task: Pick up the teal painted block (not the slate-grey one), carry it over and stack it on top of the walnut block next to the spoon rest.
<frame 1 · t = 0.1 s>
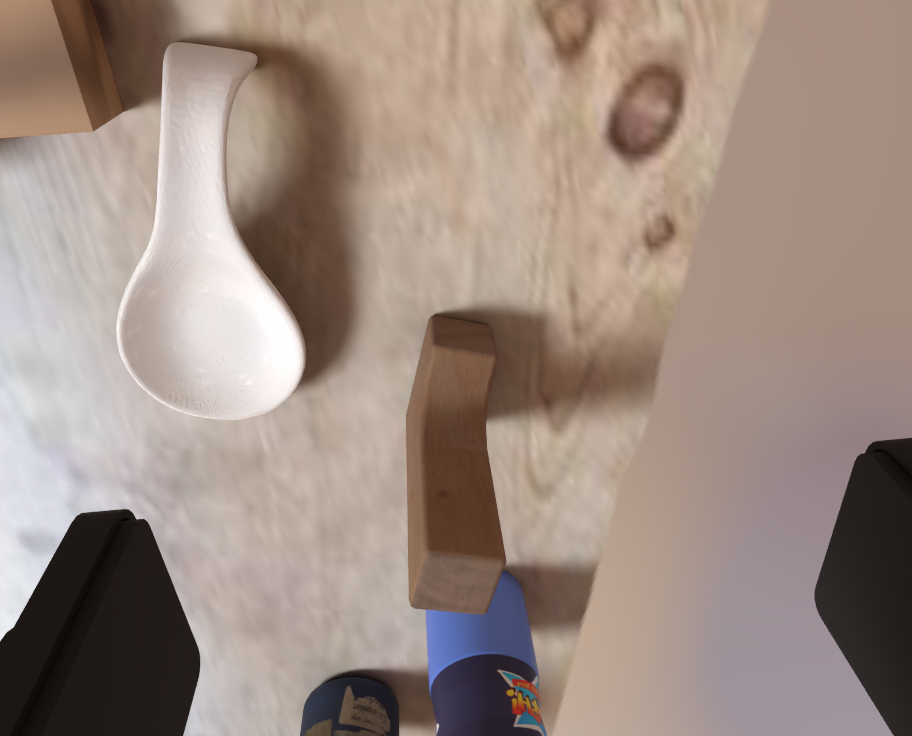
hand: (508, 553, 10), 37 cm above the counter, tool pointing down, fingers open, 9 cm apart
canister: (352, 696, 71), on the counter
walnut block: (41, 49, 39), on the counter
wooden block: (446, 370, 51), on the counter
spoon rest: (221, 241, 45), on the counter
water bottle: (474, 598, 65), on the counter
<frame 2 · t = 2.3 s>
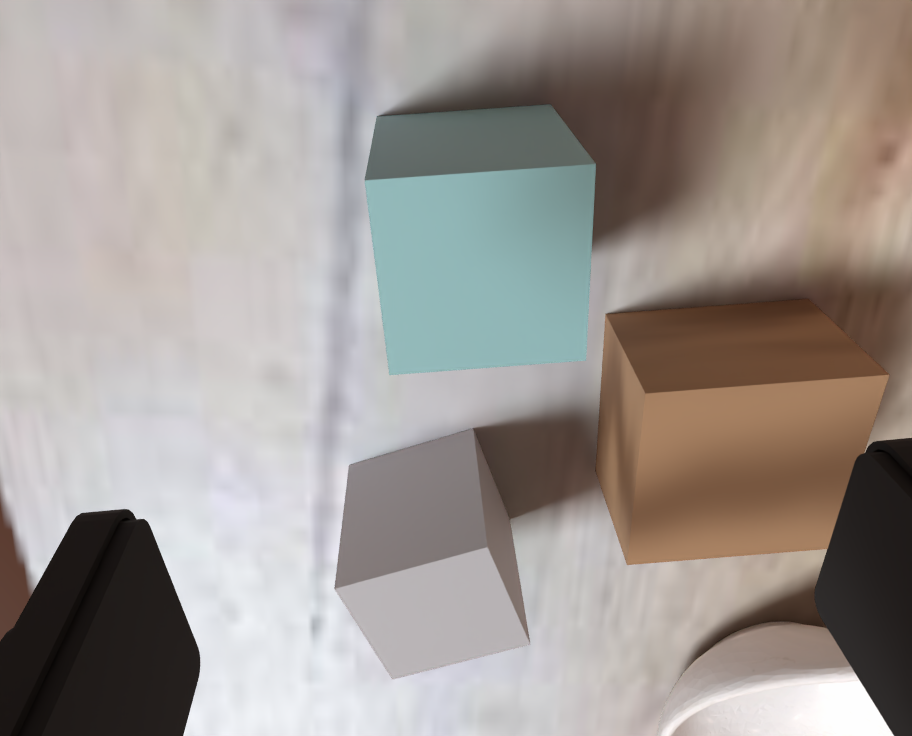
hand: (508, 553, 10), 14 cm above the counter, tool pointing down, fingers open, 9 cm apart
walnut block: (692, 388, 26), on the counter
spoon rest: (817, 582, 33), on the counter
teal block: (467, 194, 22), on the counter
grey block: (432, 492, 28), on the counter
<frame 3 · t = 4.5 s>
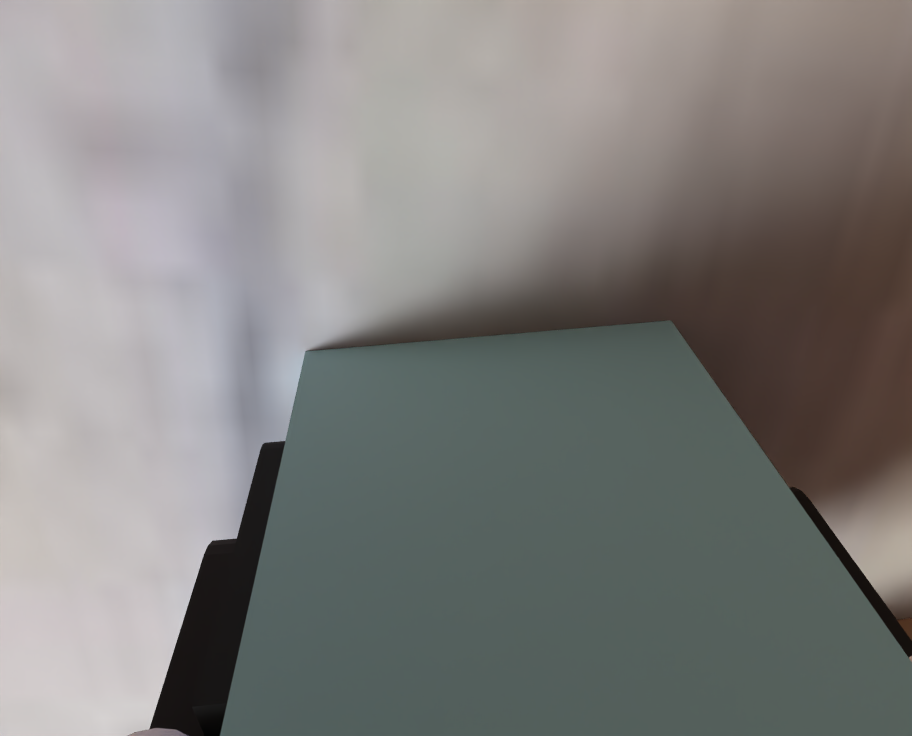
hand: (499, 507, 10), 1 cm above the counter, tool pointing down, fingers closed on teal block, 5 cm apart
teal block: (494, 476, 11), on the counter, touching gripper
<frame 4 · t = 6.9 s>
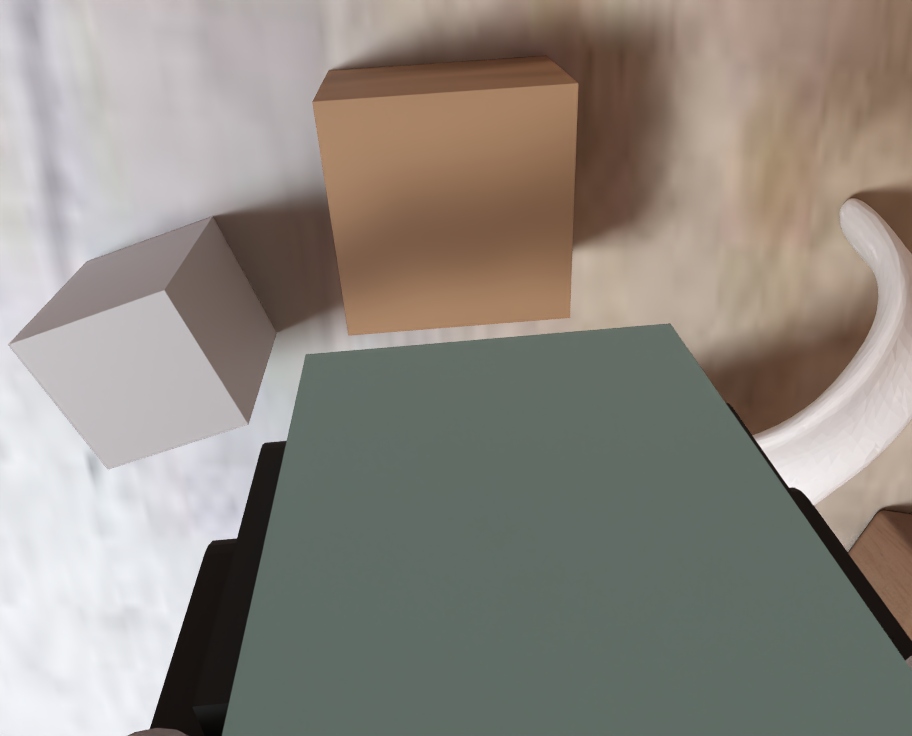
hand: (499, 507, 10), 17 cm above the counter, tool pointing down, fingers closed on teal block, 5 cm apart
walnut block: (444, 170, 24), on the counter
wooden block: (867, 570, 37), on the counter
spoon rest: (644, 418, 31), on the counter
teal block: (494, 478, 11), point 16 cm above the counter, touching gripper
grey block: (185, 298, 26), on the counter
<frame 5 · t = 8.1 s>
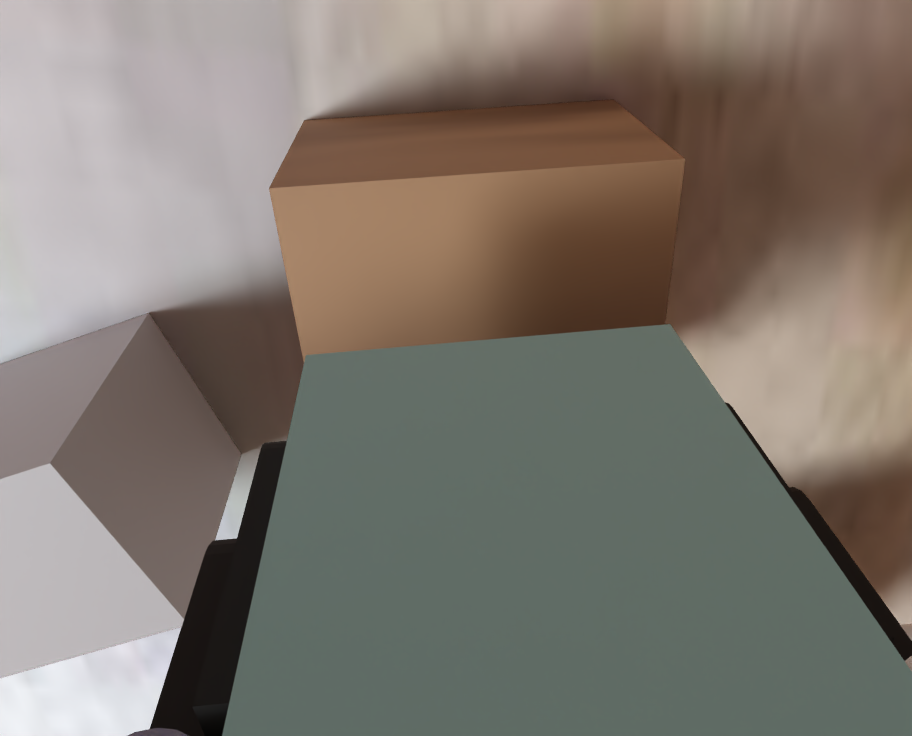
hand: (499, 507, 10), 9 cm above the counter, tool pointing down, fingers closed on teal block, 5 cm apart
walnut block: (465, 251, 18), on the counter
teal block: (494, 479, 11), point 8 cm above the counter, touching gripper
grey block: (118, 413, 20), on the counter
when the fingers open (7 cm above the counter, at t = 9.3 s): teal block drops 2 cm, point 5 cm above the counter.
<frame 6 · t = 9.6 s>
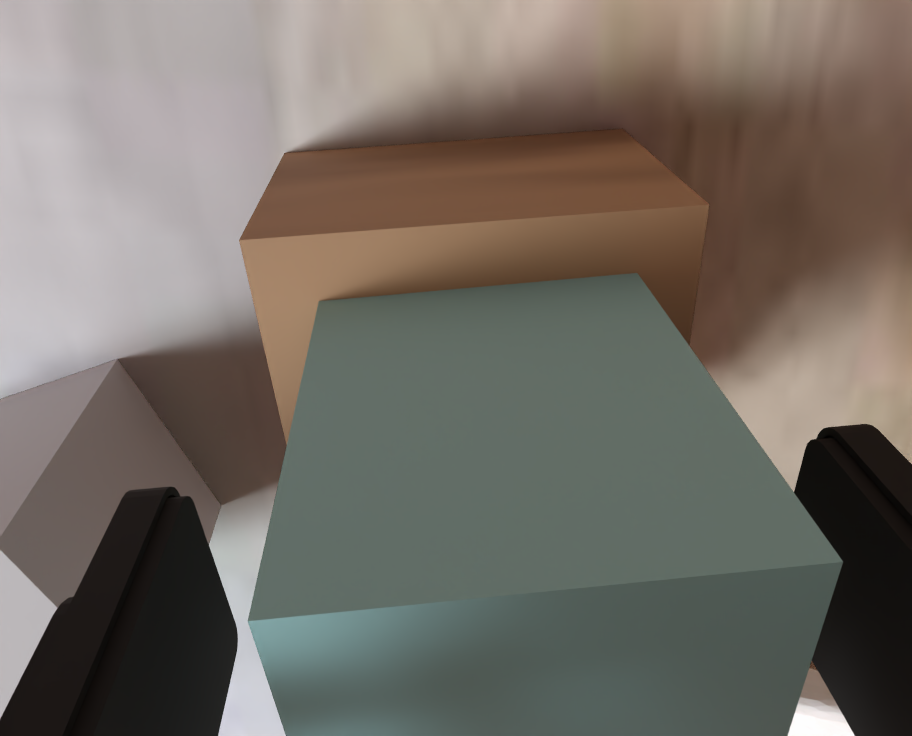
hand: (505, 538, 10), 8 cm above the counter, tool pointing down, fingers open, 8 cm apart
walnut block: (462, 290, 16), on the counter
spoon rest: (737, 592, 23), on the counter
teal block: (485, 416, 12), point 5 cm above the counter
grey block: (86, 464, 18), on the counter
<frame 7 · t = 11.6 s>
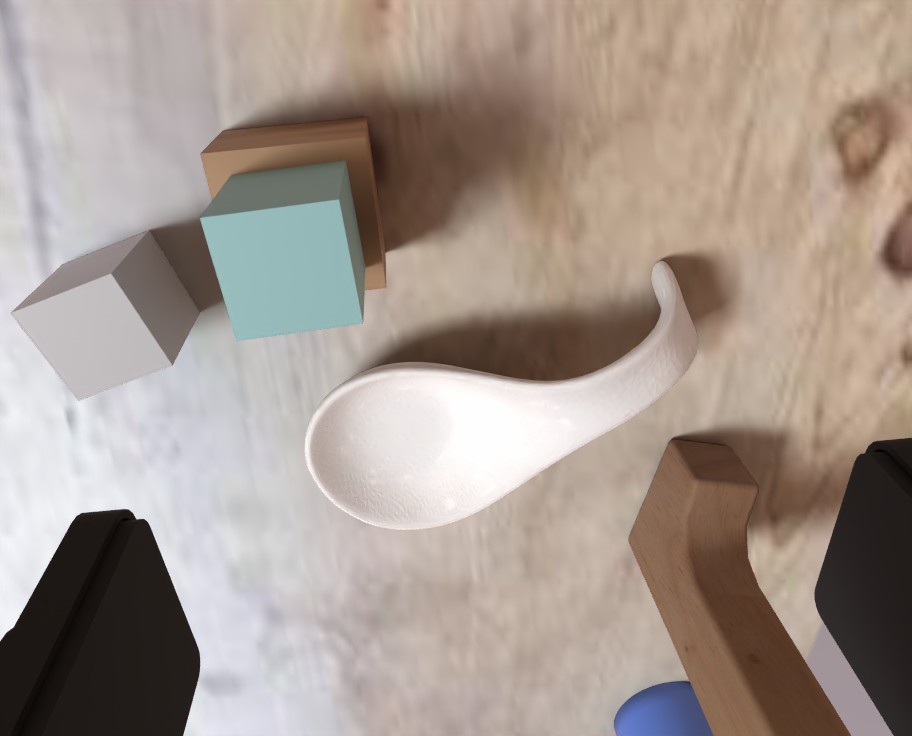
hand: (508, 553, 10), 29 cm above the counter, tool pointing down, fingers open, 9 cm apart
walnut block: (308, 194, 36), on the counter, touching teal block
wooden block: (675, 491, 48), on the counter
spoon rest: (491, 374, 43), on the counter
teal block: (300, 223, 32), point 5 cm above the counter, touching walnut block
grey block: (133, 288, 37), on the counter
water bottle: (664, 713, 61), on the counter
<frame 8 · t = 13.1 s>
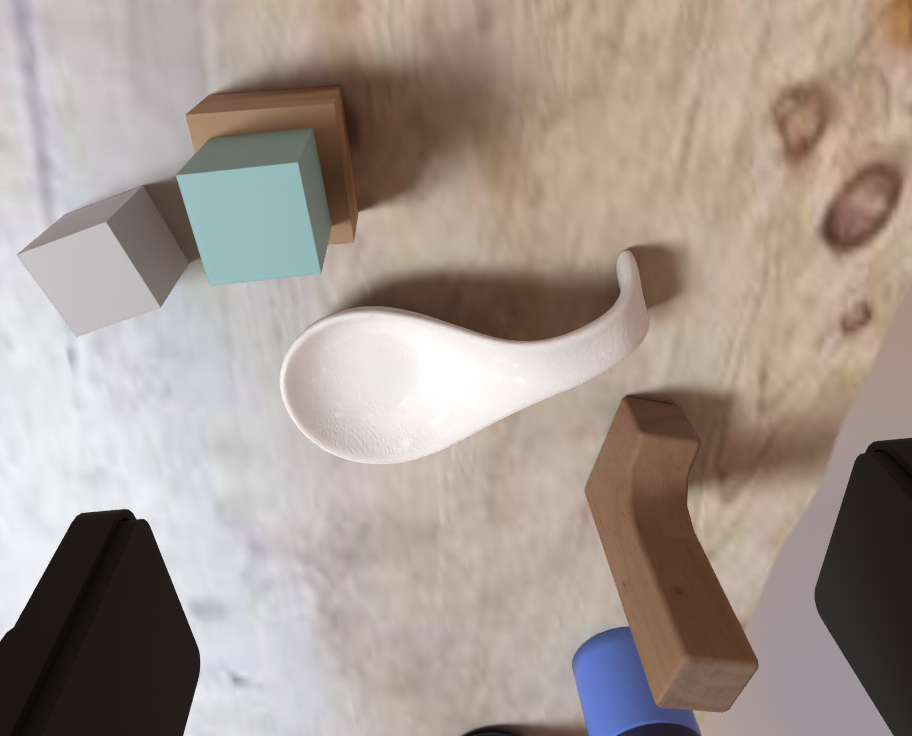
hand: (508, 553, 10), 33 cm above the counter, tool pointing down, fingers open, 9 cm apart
walnut block: (287, 155, 39), on the counter, touching teal block
wooden block: (628, 446, 52), on the counter
spoon rest: (460, 331, 46), on the counter
teal block: (272, 183, 35), point 5 cm above the counter, touching walnut block
grey block: (128, 238, 41), on the counter
water bottle: (619, 656, 65), on the counter
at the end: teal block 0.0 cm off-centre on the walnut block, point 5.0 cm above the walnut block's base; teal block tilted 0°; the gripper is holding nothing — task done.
